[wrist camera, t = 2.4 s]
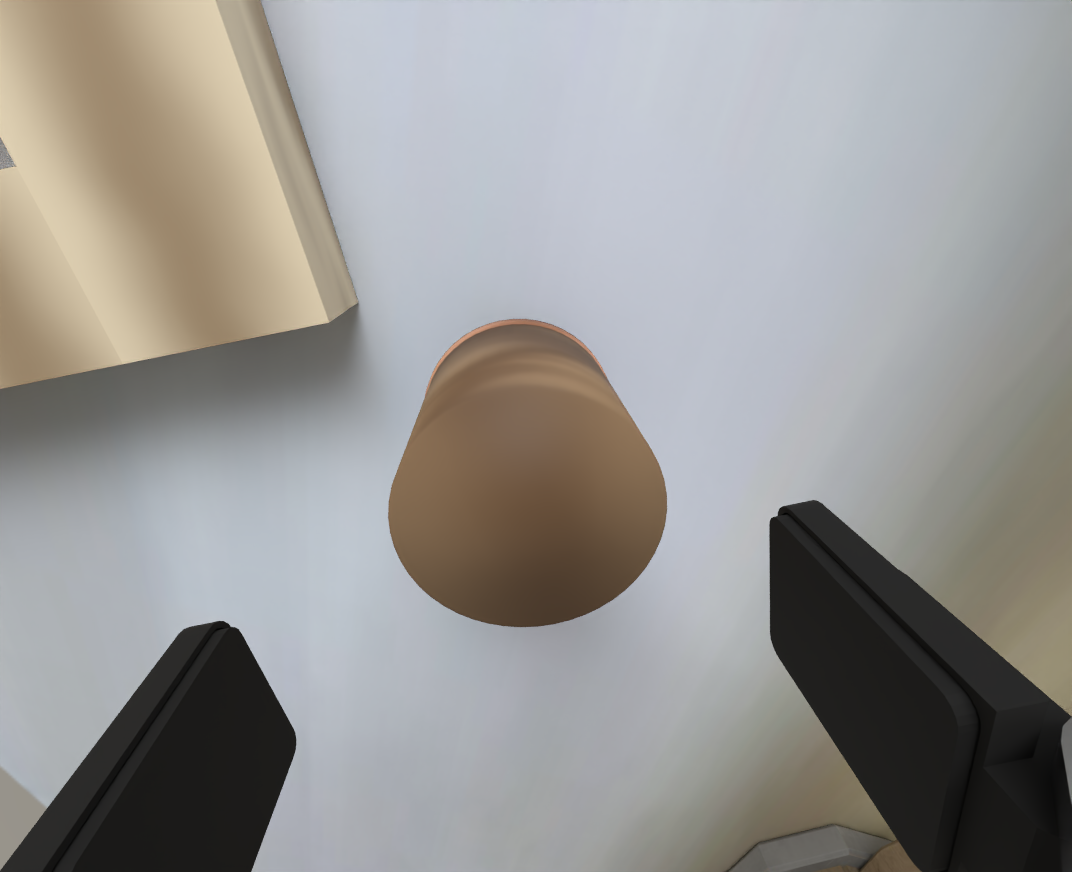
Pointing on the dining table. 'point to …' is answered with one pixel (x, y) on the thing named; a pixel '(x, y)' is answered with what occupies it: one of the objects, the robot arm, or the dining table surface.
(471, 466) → the peg
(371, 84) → the dining table surface
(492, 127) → the dining table surface
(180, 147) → the board
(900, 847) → the tankard
